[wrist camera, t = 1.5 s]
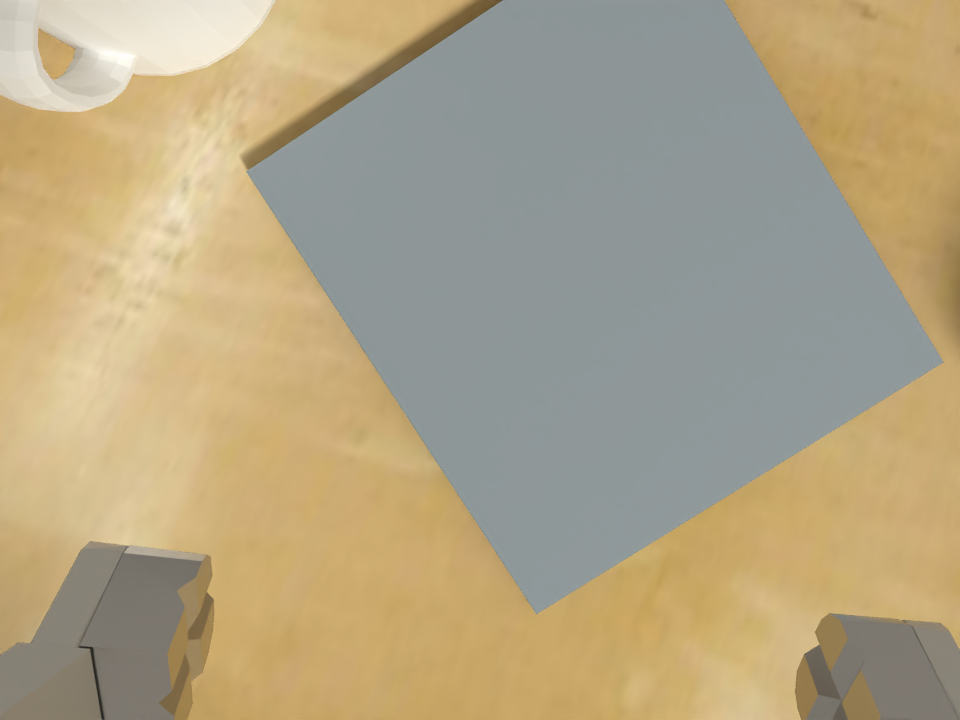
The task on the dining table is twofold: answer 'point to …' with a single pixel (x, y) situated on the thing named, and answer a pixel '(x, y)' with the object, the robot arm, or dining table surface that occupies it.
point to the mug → (115, 44)
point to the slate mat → (595, 272)
